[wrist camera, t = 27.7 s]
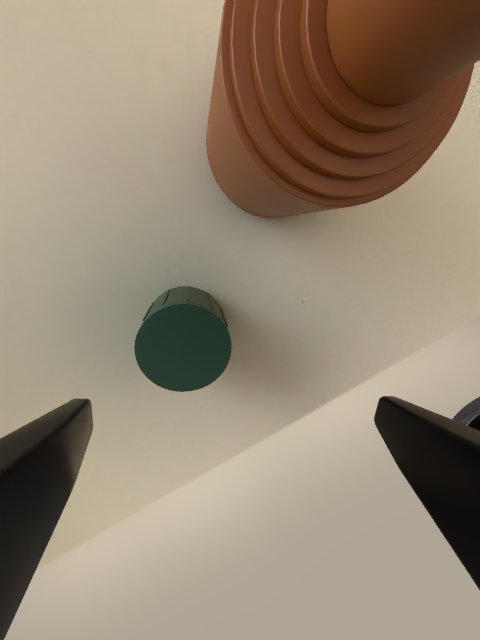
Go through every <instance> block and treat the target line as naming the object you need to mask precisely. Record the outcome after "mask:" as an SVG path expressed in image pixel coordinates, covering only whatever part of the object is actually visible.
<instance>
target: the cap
mask: <svg viewBox="0 0 480 640" xmlns="http://www.w3.org/2000/svg"><path fill="white" fill-rule="evenodd" d="M227 327H228V325H227V322H226V320H225V317H224V314H223V311H222V309H221V308H220V307H219V305H218V303H217V302H216V301H215V300H214V299H213V297H212V296H210V294H209V293H206V292H204V291H202V290H200V289H197V288H193V287H190V286H189V287H178V288H174V289H171V290H168V291H167V292H165V293H163V294H162V295H161V296H160V297H158V298H157V300H156V301H155V302H153V303H152V305H151V306H150V308H149V310H148V312H147V313H146V315H145V317H144V319H143V323H142V325H141V327H140V329H139V331H138V333H137V336H136V340H135V356H136V360H137V363H138V365H139V367H140V369H141V370H142V372H143V373H144V374H145V376H146V377H147V378H148V379H150V380H151V381H152V382H153V383H155V384H156V385H158V386H160V387H162V388H165V389H168V390H172V391H180V392H184V391H193V390H197V389H200V388H203V387H205V386H207V385H209V384H211V383H212V382H214V381H215V380H216V379H217V378H218V377H219V376H220V375H221V374H222V373H223V371H224V370H225V368H226V366H227V365H228V362H229V359H230V356H231V339H230V335H229V332H228V329H227Z"/></svg>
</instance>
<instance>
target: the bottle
mask: <svg viewBox="0 0 480 640" xmlns="http://www.w3.org/2000/svg"><path fill="white" fill-rule="evenodd" d="M479 60H480V0H225V3H224V7H223V14H222V21H221V29H220V36H219V44H218V51H217V59H216V66H215V74H214V82H213V89H212V97H211V104H210V112H209V119H208V127H207V154H208V159H209V163H210V166H211V169H212V172H213V175H214V177H215V179H216V181H217V183H218V185H219V186H220V188H221V189H222V191H223V192H224V193H225V194H226V196H227V197H228V198H229V199H230V200H231V201H232V202H233V203H234V204H236V205H237V206H238V207H240V208H241V209H243V210H245V211H247V212H249V213H251V214H254V215H257V216H261V217H268V218H277V217H286V216H292V215H299V214H305V213H311V212H318V211H324V210H331V209H337V208H344V207H350V206H356V205H360V204H365V203H368V202H371V201H373V200H376V199H379V198H381V197H383V196H385V195H387V194H388V193H390V192H392V191H394V190H395V189H397V188H398V187H400V186H401V185H402V184H404V183H405V182H406V181H408V180H409V179H410V178H411V177H412V176H413V175H414V174H415V173H416V172H417V171H419V169H420V168H421V167H422V166H423V165H424V164H425V163H426V161H427V160H428V159H429V158H430V157H431V155H432V154H433V153H434V151H435V150H436V149H437V148H438V146H439V145H440V143H441V142H442V141H443V139H444V138H445V136H446V135H447V133H448V131H449V130H450V128H451V126H452V124H453V123H454V121H455V119H456V117H457V115H458V113H459V110H460V108H461V106H462V104H463V101H464V98H465V95H466V93H467V90H468V87H469V84H470V80H471V76H472V71H473V67H474V63H476V62H477V61H479Z"/></svg>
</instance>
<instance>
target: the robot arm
mask: <svg viewBox="0 0 480 640" xmlns="http://www.w3.org/2000/svg"><path fill="white" fill-rule="evenodd" d="M374 421H375V425H376V427H377V429H378V431H379V433H380V434H381V436H382V438H383V440H384V442H385V444H386V445H387V447H388V449H389V451H390V452H391V455H392V456H393V458H394V460H395V462H396V464H397V465H398V467H399V469H400V470H401V472H402V473H403V475H404V477H405V478H406V479H407V481H408V483H409V484H410V486H411V487H412V489H413V490H414V492H415V493H416V495H417V496H418V498H419V499H420V501H421V502H422V504H423V505H424V507H425V508H426V510H427V511H428V513H429V514H430V516H431V517H432V519H433V520H434V522H435V523H436V525H437V526H438V528H439V529H440V531H441V532H442V534H443V535H444V537H445V538H446V540H447V541H448V543H449V544H450V546H451V547H452V549H453V550H454V552H455V553H456V555H457V557H458V558H459V560H460V561H461V563H462V564H463V565H464V567H465V569H466V570H467V571H468V573H469V575H470V576H471V578H472V579H473V581H474V582H475V584H476V585H477V587H478V588H479V590H480V423H479V424H477V425H476V426H475V427H473V428H472V427H469V426H467V425H464V424H462V423H459V422H457V421H454V420H452V419H449V418H447V417H444V416H442V415H439V414H436V413H434V412H431V411H429V410H426V409H424V408H422V407H419V406H416V405H414V404H412V403H409V402H407V401H404V400H402V399H399V398H396V397H393V396H383V397H381V398H380V399H379V402H378V406H377V409H376V413H375V417H374ZM92 429H93V418H92V405H91V401H90V400H89V399H73V400H71V401H69V402H67V403H65V404H64V405H62V406H60V407H58V408H56V409H54V410H52V411H51V412H49V413H47V414H45V415H43V416H41V417H40V418H38V419H36V420H34V421H32V422H30V423H28V424H27V425H25V426H23V427H21V428H19V429H17V430H16V431H14V432H12V433H10V434H8V435H6V436H4V437H3V438H1V439H0V640H4V638H5V636H6V634H7V632H8V629H9V627H10V625H11V623H12V621H13V618H14V616H15V614H16V612H17V610H18V608H19V606H20V603H21V601H22V599H23V597H24V595H25V592H26V590H27V588H28V586H29V583H30V581H31V579H32V577H33V575H34V573H35V571H36V568H37V566H38V564H39V562H40V560H41V557H42V555H43V553H44V551H45V549H46V547H47V544H48V542H49V540H50V538H51V536H52V533H53V531H54V529H55V527H56V525H57V522H58V520H59V518H60V516H61V514H62V512H63V509H64V507H65V505H66V503H67V501H68V498H69V496H70V494H71V492H72V489H73V487H74V484H75V481H76V479H77V476H78V473H79V470H80V467H81V464H82V461H83V458H84V455H85V452H86V449H87V446H88V443H89V440H90V437H91V434H92Z"/></svg>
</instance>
